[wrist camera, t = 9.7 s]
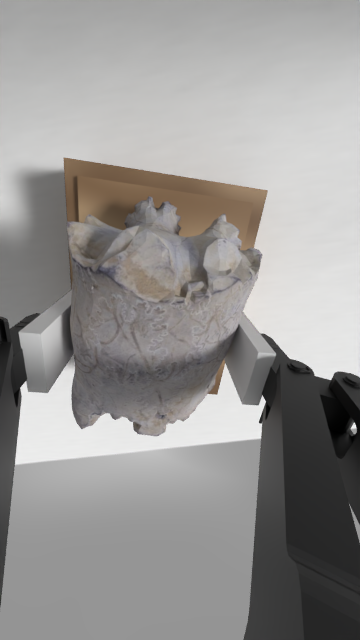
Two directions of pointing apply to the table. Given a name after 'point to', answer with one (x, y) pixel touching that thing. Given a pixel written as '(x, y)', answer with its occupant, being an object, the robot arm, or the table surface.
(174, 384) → the stone
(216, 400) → the table surface
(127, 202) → the walnut slab
